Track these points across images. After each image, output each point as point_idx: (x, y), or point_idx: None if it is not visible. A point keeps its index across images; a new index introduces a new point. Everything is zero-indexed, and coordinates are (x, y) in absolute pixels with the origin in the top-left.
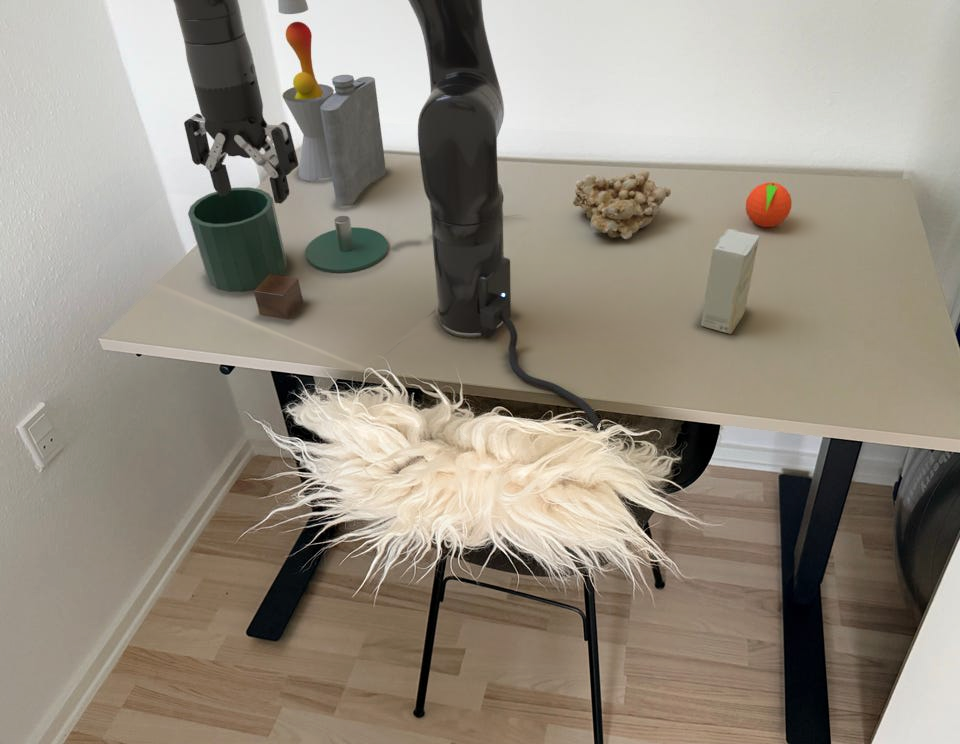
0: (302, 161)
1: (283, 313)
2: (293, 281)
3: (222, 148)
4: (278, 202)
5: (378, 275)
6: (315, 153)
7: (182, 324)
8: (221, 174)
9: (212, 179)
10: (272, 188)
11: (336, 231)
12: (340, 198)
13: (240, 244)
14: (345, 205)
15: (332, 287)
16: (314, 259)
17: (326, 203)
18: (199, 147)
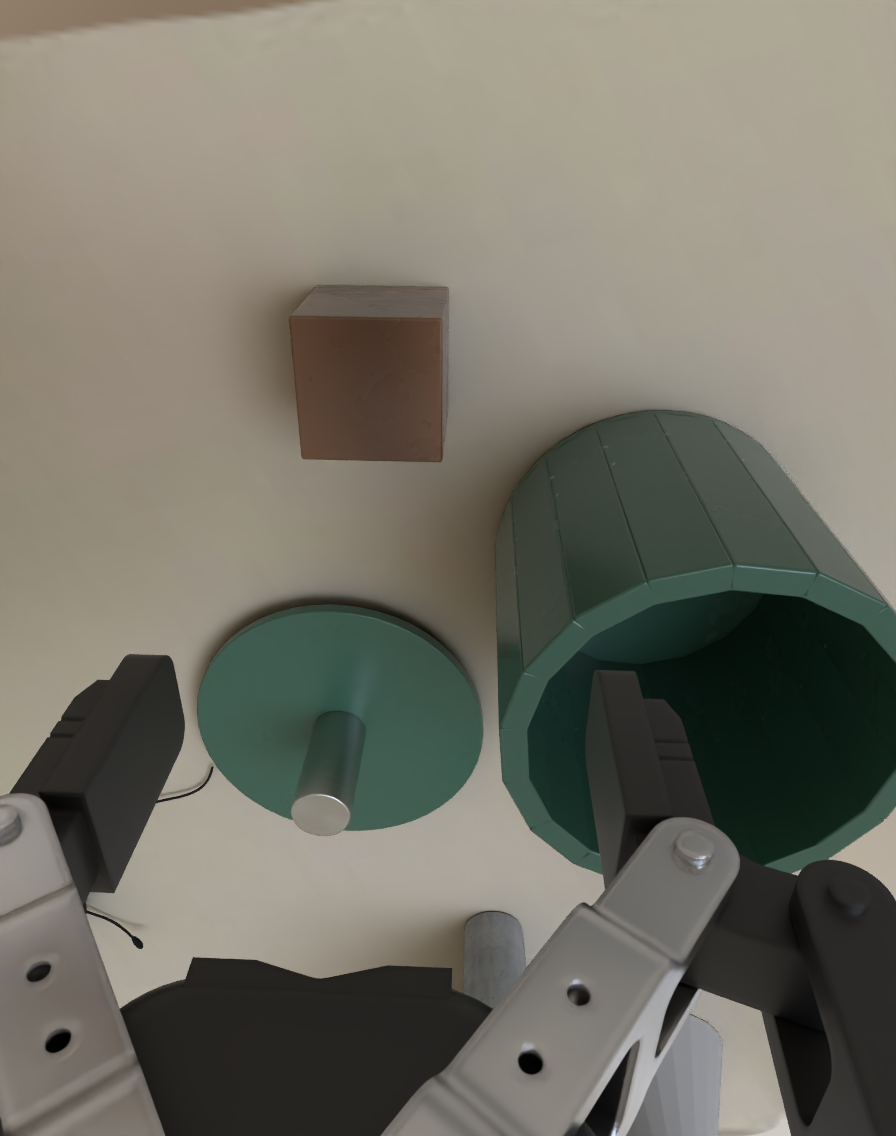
0: (703, 1078)
1: (324, 293)
2: (306, 431)
3: (473, 1048)
4: (135, 655)
5: (173, 628)
6: (656, 1111)
7: (773, 150)
8: (611, 815)
9: (689, 767)
10: (113, 726)
11: (345, 768)
12: (494, 943)
13: (586, 543)
14: (481, 923)
15: (285, 534)
16: (412, 652)
17: (558, 927)
18: (831, 1049)
